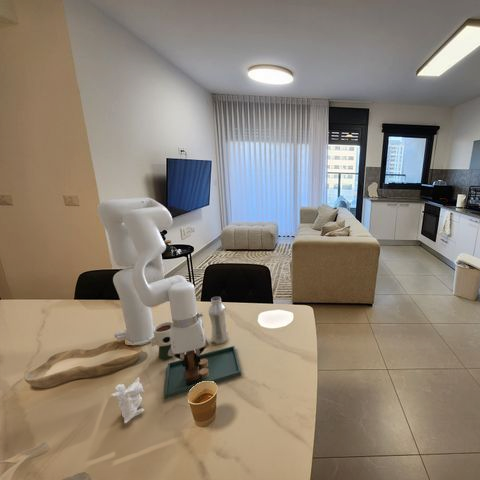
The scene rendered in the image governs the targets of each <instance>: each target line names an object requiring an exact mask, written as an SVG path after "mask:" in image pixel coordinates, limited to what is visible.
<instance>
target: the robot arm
mask: <svg viewBox="0 0 480 480" xmlns="http://www.w3.org/2000/svg"><path fill="white" fill-rule="evenodd" d="M96 214H97V217H98V219H99V221H100V223H101V224H102V225H103V228H104V229H105V231H106V232H107V236H108V240H109V244H110V250H111V253H112V258H113V261H114V263H115V264H116V265H117V266H118V267H128V268H124V269H121V270H119V271H117V272H116V273H115V274H114V275H113V277H112V283H113V285H114V288H115V290H116V292H117V295H118V298H119V301H120V305H121V311H122V315H123V320H124V325H125V330H123V331H118V332H115V333H114V337H115V338H116V340H117V341H118V340H122V339H123V340H124V339H126V340H128V341H129V342H130V343H132V344H136V345H139V346H143V345H147V344H148V343H151V341H150V340H151V338H153V337H154V333H153V329H154V327H155V323H154V318H153V317H154V316H153V312H152V308H154V307H158V306H160V305H163V304H165V303H167V302H169V308H170V313H171V314H170V315H171V322H173V323H172V324H171V347H170V349H169V352H168V356H173V358H174V357H175V358H177V359H179V360H181V361H182V366H183V367H185V370H187V369H188V366H187V359H186V352H187V351H191V350H194V351H195V360H196V367H199V363H200V362H201V361H200V355H201V354H203V352H204V351H205V350H206V349H207V348H209V347H210V346H211V342H210V340H209V339H208V338H207V337H206V333H205V328H204V325H203V324H204V323H203V320H202V318H203V316H204V315H203V312H199V311H198V305H197V304H198V303H197V296H196V289H195V285H194V284H193V283H192V282H190V281H187V279H186V278H185V277H184V276H183V275H179V274H177V275H173V276H170V277H167V278H166V277H165V268H164V263H163V262H164V261H163V256H162V254H163V253H164V252H165V251H166V249H167V244H166V243H165V241H164V239H163V237H162V234H161V232H160V231H162V230H167V229H169V228H171V227H172V226H173V216H172V214H171V212H170V211H169V210H168V208H167V207H165V206H164V205H163V204H161V203H160V202H158V201H157V200H155V199H153V198H151V197H129V198H115V199H108V200H104V201H102V202H99V203H98V205H97V207H96ZM130 266H131V267H130ZM139 346H138V347H139Z"/></svg>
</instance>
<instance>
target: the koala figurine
mask: <svg viewBox="0 0 480 480" xmlns="http://www.w3.org/2000/svg"><path fill="white" fill-rule="evenodd" d="M114 390H115V392H114V393H113V392H112V393H111V394H110V396H111V397H113V398H115V397H116V400H117V402H118V406H119V409H120V411H121V416H122V417H123V424H127V423H128V422H129V421H130V420H131V419H133V418H134V417H136V416H139V415H141V414H142V413H144V411H145V409H144V407H142V408H139V407H140V406H141V404H142V401H143V397H142V396H141V394H144V392H145V389H144V388H143V383H140V377H139V376H138V377H137V378H135V380H134V381H133V383H131V384H129V386H127V388H126V385H125V384H122V383H120V384H117V385H116V386H115V388H114ZM138 408H139V409H138Z"/></svg>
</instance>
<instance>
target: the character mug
mask: <svg viewBox="0 0 480 480" xmlns="http://www.w3.org/2000/svg"><path fill="white" fill-rule="evenodd" d="M172 323H173V321H164V322H161V323H158V324H157V325H154V329H153V333H154V337H153V338H151V340H150V341H151V342H150V346H151V347H155V346H157V347H158V359H160V360H162V361H168V360H171V359H173V358H174V357H173V356H168V352H169V349H170V347H171V324H172Z"/></svg>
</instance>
